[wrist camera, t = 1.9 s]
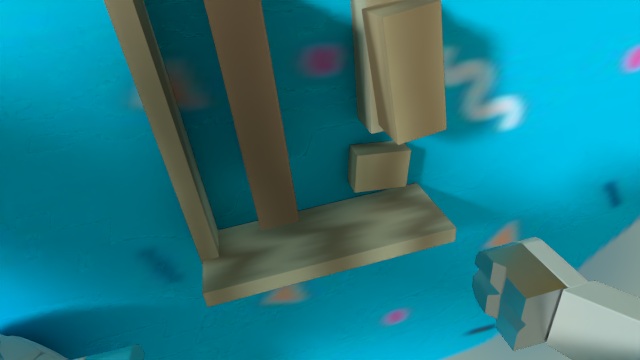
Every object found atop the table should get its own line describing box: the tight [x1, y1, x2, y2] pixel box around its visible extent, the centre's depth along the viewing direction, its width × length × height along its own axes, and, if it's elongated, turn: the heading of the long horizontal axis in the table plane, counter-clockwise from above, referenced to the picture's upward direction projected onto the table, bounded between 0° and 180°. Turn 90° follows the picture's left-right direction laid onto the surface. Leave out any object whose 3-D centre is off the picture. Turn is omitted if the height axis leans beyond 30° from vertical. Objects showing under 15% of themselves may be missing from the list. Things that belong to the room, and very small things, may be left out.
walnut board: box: [204, 0, 300, 230], centre depth 22 cm, size 2×12×7 cm, turn 7°
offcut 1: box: [351, 0, 391, 134], centre depth 24 cm, size 3×8×3 cm, turn 7°
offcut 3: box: [348, 141, 411, 193], centre depth 29 cm, size 4×3×2 cm
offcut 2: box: [362, 0, 447, 145], centre depth 22 cm, size 3×7×3 cm, turn 13°
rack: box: [104, 0, 456, 307], centre depth 22 cm, size 17×23×6 cm
